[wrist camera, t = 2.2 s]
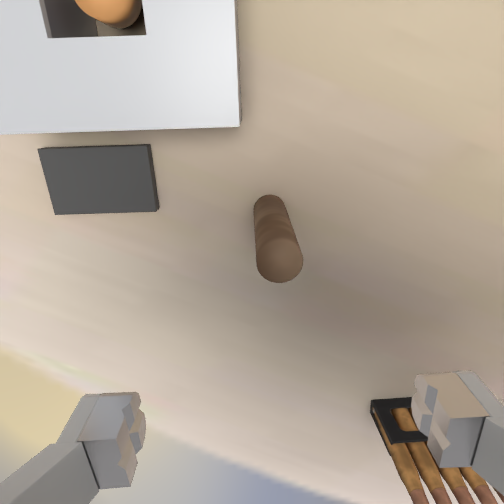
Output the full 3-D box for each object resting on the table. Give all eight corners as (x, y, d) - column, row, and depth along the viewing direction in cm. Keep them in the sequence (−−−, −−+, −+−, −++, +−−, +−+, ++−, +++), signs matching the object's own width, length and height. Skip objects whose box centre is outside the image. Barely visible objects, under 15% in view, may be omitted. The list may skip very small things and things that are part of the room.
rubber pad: (150, 144, 26) (146, 145, 25) (159, 207, 28) (156, 211, 27) (44, 147, 26) (37, 149, 26) (61, 211, 28) (55, 214, 28)
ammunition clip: (472, 392, 37) (567, 517, 26) (469, 405, 38) (560, 532, 27) (370, 399, 37) (422, 525, 26) (370, 412, 38) (419, 540, 27)
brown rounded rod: (285, 194, 28) (303, 239, 19) (285, 224, 29) (302, 282, 20) (253, 195, 28) (256, 241, 19) (254, 225, 29) (257, 283, 20)
